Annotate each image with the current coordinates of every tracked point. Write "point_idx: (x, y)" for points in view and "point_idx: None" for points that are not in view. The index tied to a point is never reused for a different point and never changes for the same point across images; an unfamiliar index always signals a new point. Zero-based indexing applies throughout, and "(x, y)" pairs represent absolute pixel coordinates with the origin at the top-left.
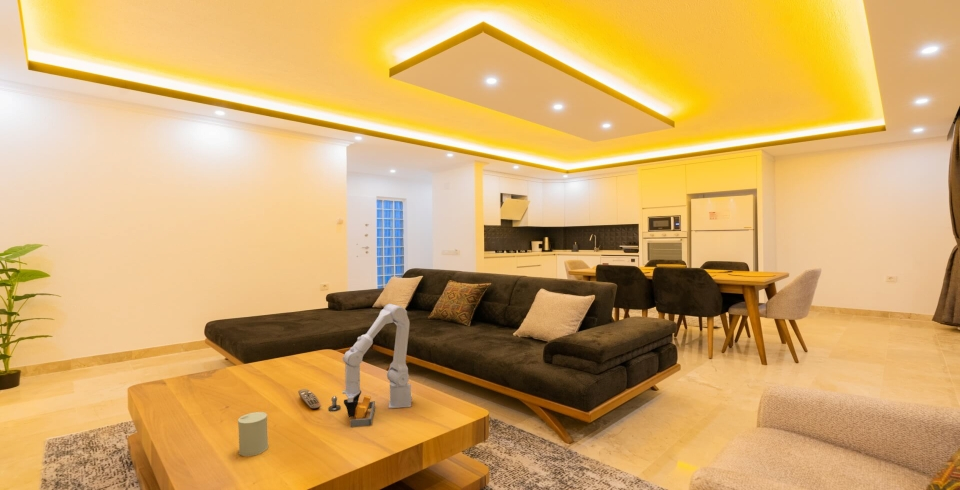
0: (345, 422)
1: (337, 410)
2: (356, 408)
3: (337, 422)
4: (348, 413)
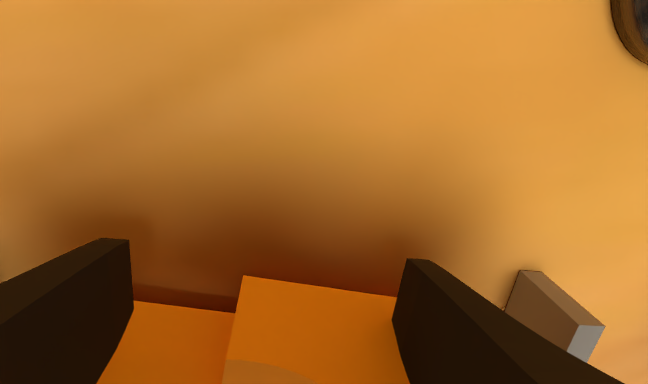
0: (127, 157)
1: (616, 19)
2: (286, 376)
3: (144, 32)
4: (38, 275)
